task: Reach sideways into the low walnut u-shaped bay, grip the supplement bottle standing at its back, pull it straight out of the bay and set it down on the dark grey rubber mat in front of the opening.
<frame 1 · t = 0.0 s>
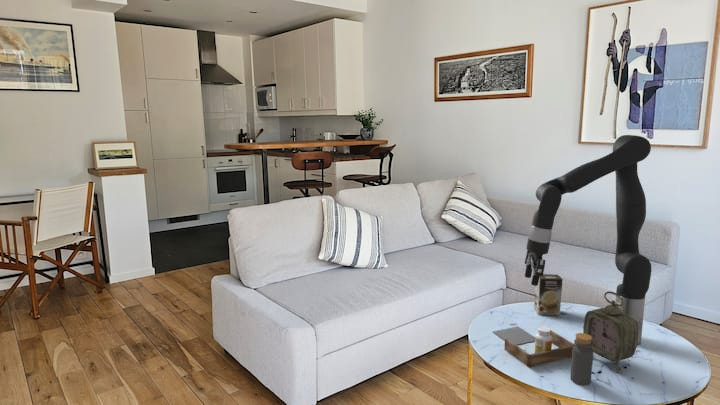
hand: (530, 281, 171), 22 cm above the table, tool pointing down, fingers open, 8 cm apart
rubber mat: (515, 336, 176), on the table
bottle: (580, 381, 146), on the table
tabletop clock: (608, 363, 157), on the table
supplement bottle: (542, 355, 162), on the table
walnut u-shaped bay: (538, 352, 164), on the table
coffee box: (546, 312, 197), on the table
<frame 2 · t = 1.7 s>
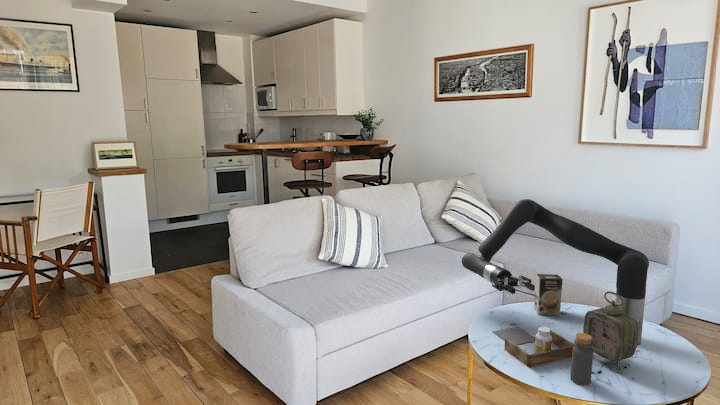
hand: (524, 289, 169), 20 cm above the table, tool horizontal, fingers open, 8 cm apart
nothing on the table moved.
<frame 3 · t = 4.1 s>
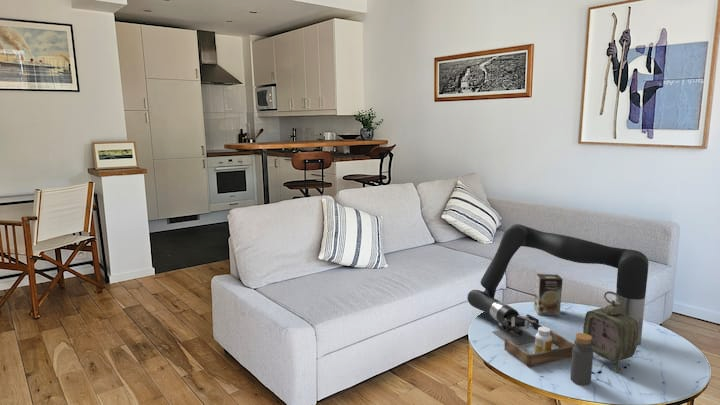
hand: (531, 331, 167), 6 cm above the table, tool horizontal, fingers open, 8 cm apart
nothing on the table moved.
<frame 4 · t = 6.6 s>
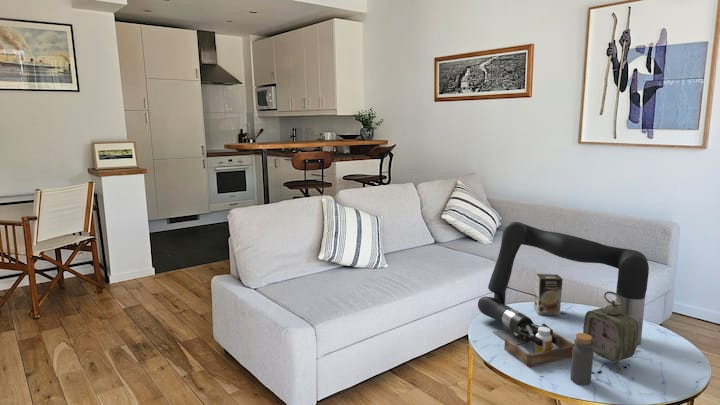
hand: (548, 342, 159), 6 cm above the table, tool horizontal, fingers closed on supplement bottle, 5 cm apart
supplement bottle: (542, 355, 162), on the table, touching gripper
everything else where it was.
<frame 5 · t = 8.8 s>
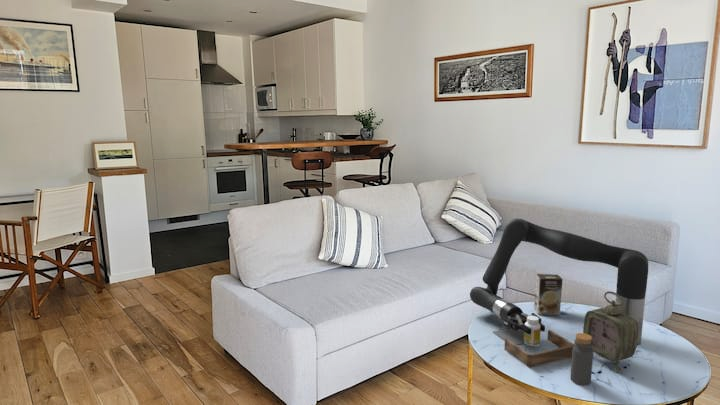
hand: (537, 330, 164), 8 cm above the table, tool horizontal, fingers closed on supplement bottle, 5 cm apart
supplement bottle: (531, 343, 167), point 1 cm above the table, touching gripper
everything else where it was.
when the fingers open (7 cm above the table, at t = 11.3 s): supplement bottle stays where it is, resting on rubber mat.
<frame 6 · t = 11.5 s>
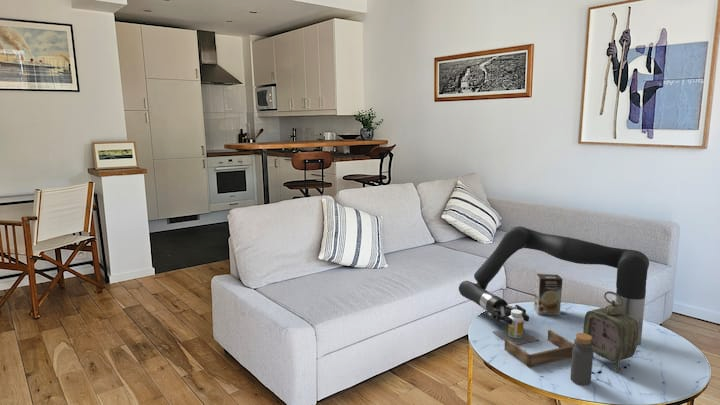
hand: (519, 320, 173), 7 cm above the table, tool horizontal, fingers open, 7 cm apart
supplement bottle: (515, 335, 176), resting on rubber mat
everything else where it was.
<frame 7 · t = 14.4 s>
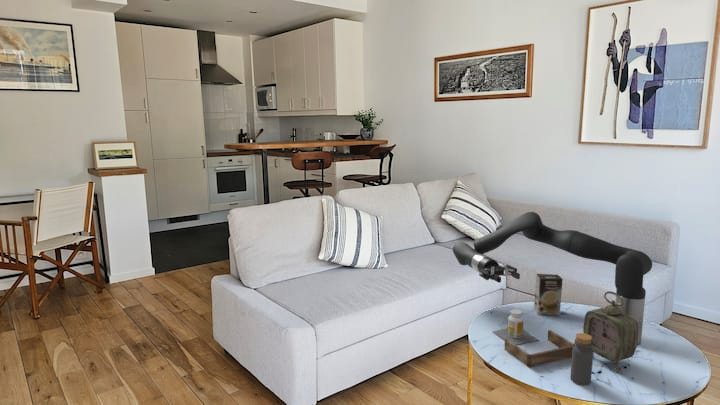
hand: (509, 278, 177), 22 cm above the table, tool horizontal, fingers open, 8 cm apart
nothing on the table moved.
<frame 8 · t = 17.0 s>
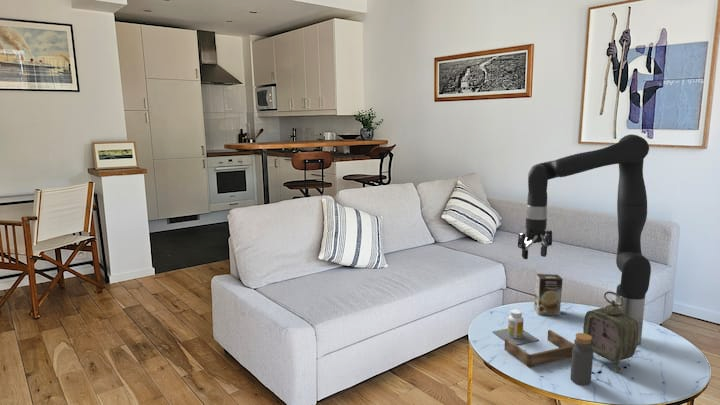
hand: (534, 257, 180), 28 cm above the table, tool pointing down, fingers open, 8 cm apart
nothing on the table moved.
at the end: supplement bottle inside the target area on the rubber mat (0.1 cm from its centre), point 0.1 cm above the rubber mat's base; supplement bottle tilted 0°; the gripper is holding nothing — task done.
